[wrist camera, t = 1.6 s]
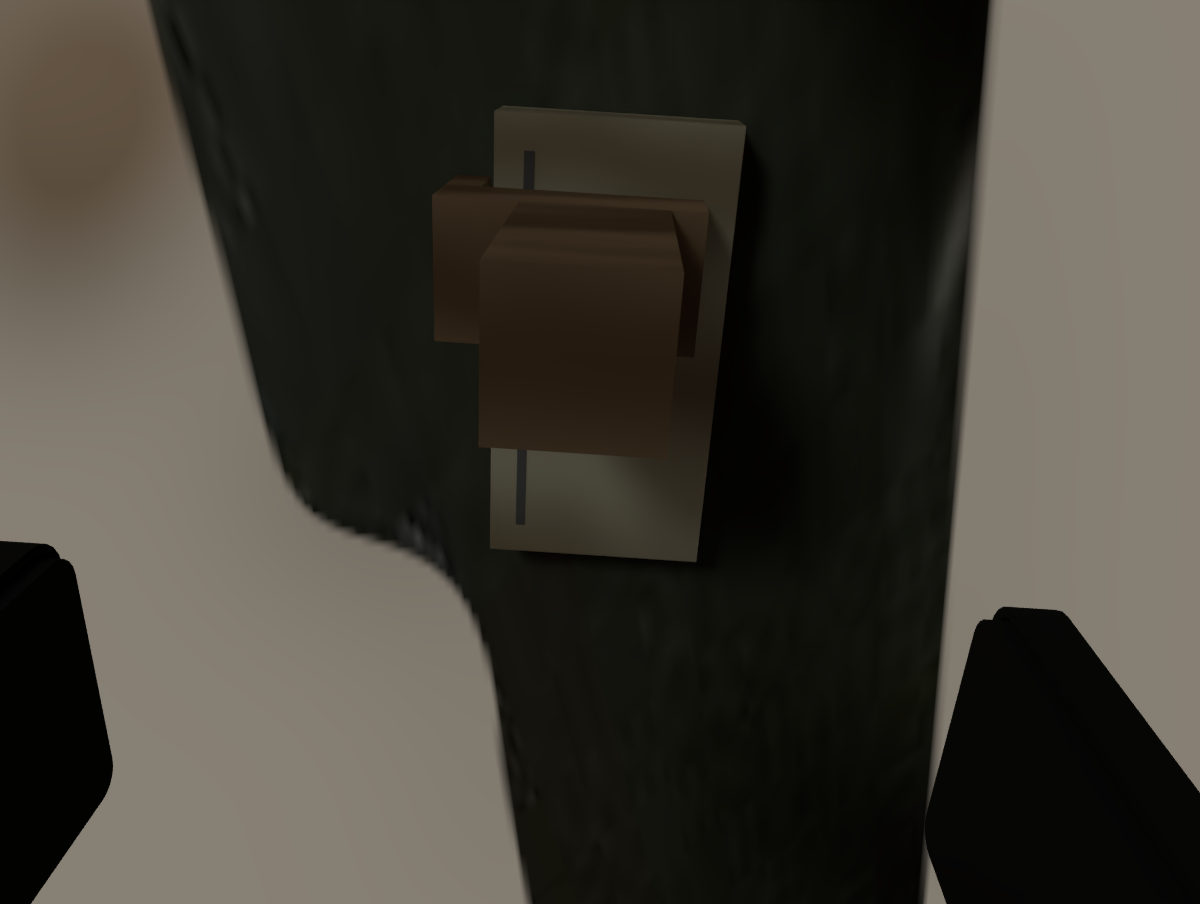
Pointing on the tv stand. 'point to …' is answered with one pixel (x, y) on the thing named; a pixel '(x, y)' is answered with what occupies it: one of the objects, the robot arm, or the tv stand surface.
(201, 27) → the tv stand surface
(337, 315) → the tv stand surface
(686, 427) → the board
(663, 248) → the brown slider knob
